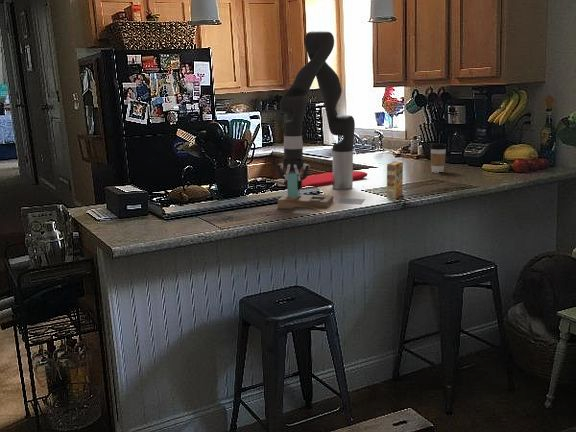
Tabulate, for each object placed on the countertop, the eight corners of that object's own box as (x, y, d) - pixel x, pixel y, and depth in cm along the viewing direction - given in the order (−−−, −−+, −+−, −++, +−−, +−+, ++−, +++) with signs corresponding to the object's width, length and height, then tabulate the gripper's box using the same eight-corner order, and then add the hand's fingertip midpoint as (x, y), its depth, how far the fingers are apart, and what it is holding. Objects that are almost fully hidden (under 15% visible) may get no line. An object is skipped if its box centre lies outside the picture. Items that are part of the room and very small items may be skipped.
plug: (290, 195, 261) (290, 169, 258) (299, 196, 260) (299, 170, 257) (287, 197, 257) (287, 171, 255) (297, 198, 256) (296, 171, 254)
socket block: (286, 201, 267) (286, 192, 266) (332, 204, 261) (333, 195, 260) (277, 208, 255) (277, 198, 254) (326, 210, 250) (326, 201, 249)
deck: (341, 200, 268) (341, 198, 268) (365, 201, 265) (365, 199, 265) (336, 205, 259) (336, 203, 258) (361, 206, 256) (361, 204, 256)
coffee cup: (426, 171, 335) (427, 142, 331) (440, 170, 337) (441, 142, 334) (434, 173, 327) (435, 144, 324) (448, 172, 330) (450, 144, 326)
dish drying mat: (282, 185, 305) (282, 177, 305) (347, 175, 329) (347, 168, 328) (302, 190, 293) (302, 182, 292) (368, 179, 317) (368, 172, 316)
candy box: (395, 200, 266) (396, 164, 262) (385, 200, 268) (386, 163, 264) (402, 197, 273) (403, 161, 270) (393, 196, 276) (394, 160, 272)
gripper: (312, 146, 255) (312, 188, 260) (278, 145, 259) (279, 186, 263) (308, 148, 248) (308, 191, 252) (273, 147, 252) (274, 190, 256)
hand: (293, 189), depth 258 cm, fingers closed on plug, 4 cm apart
